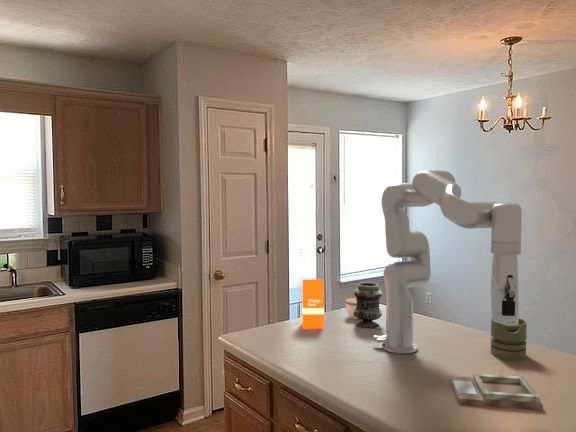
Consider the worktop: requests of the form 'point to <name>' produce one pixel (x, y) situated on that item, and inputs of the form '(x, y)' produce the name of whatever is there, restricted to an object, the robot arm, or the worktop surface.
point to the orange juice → (313, 303)
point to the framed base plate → (495, 391)
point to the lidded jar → (351, 307)
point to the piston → (509, 340)
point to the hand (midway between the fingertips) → (504, 311)
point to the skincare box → (497, 307)
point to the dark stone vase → (367, 305)
